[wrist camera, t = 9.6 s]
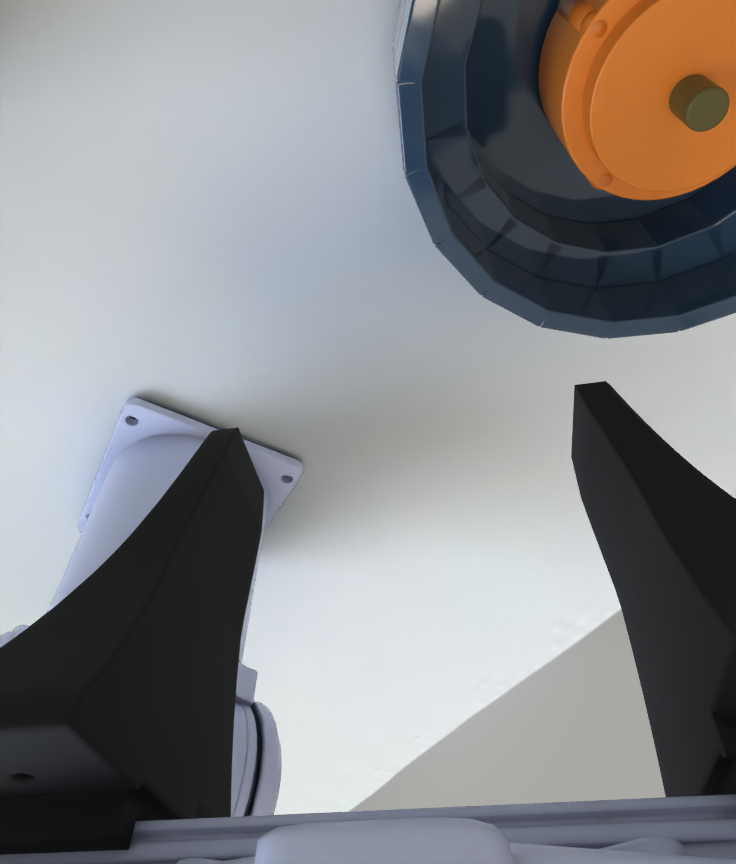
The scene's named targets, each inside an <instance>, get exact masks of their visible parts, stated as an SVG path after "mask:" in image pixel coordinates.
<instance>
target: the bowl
mask: <svg viewBox="0 0 736 864" xmlns="http://www.w3.org/2000/svg"><path fill="white" fill-rule="evenodd" d="M559 2H560V0H401V3H400V9H399V14H398V19H397V24H396V30H395V35H394V40H393V44H394V46H393V53H394V66H395V78H396V90H397V102H398V114H399V125H400V137H401V148H402V160H403V171H404V172H405V178H406V180H407V182H408V185H409V187H410V189H411V192H412V194H413V197H414V199H415V201H416V204H417V206H418V208H419V211H420V213H421V215H422V218H423V220H424V222H425V225H426V227H427V229H428V232H429V234H430V237H431V239H432V241H433V243H434V244H435V246H436V248H437V249H438V250H439V251H440V252H441V253H442V254H443V255H444V256H445V257H446V258H447V260H448V261H449V262H450V263H451V264H452V265H453V266H454V267H455V268H456V269H457V270H458V272H459V273H460V274H461V275H462V276H463V277H464V278H465V279H466V280H467V281H468V282H469V283H470V285H471V286H472V287H473V288H474V289H475V290H476V291H477V292H478V293H479V294H480V295H482V297H484V298H486V299H488V300H490V301H491V302H493V303H495V304H497V305H499V306H501V307H503V308H505V309H507V310H508V311H510V312H512V313H514V314H516V315H518V316H520V317H522V318H524V319H526V320H527V321H529V322H531V323H533V324H535V325H537V326H541V327H543V328H549V329H554V330H560V331H566V332H571V333H577V334H583V335H588V336H594V337H600V338H606V337H607V338H619V337H630V336H641V335H651V334H662V333H672V332H678V331H683V330H686V329H689V328H692V327H695V326H698V325H701V324H704V323H707V322H710V321H713V320H716V319H719V318H721V317H724V316H727V315H730V314H733V313H736V166H734V167H733V168H732V169H730V170H729V171H728V172H726V173H725V174H723V175H722V176H720V177H719V178H717V179H715V180H714V181H712V182H710V183H708V184H706V185H705V186H702V187H700V188H698V189H695V190H693V191H691V192H688V193H685V194H682V195H679V196H675V197H670V198H665V199H657V200H633V199H628V198H623V197H619V196H616V195H613V194H611V193H608V192H606V191H604V190H598V189H595V188H594V187H592V186H591V184H590V183H589V181H588V180H587V178H586V177H585V176H584V175H583V174H582V173H581V171H580V170H579V169H578V167H577V166H576V164H575V163H574V161H573V160H572V158H571V157H570V155H569V154H568V152H567V151H566V149H565V147H564V146H563V144H562V143H561V141H560V140H559V138H558V136H557V135H556V133H555V132H554V130H553V129H552V127H551V125H550V123H549V121H548V119H547V117H546V115H545V112H544V109H543V106H542V103H541V98H540V92H539V63H540V57H541V51H542V46H543V43H544V40H545V37H546V33H547V30H548V28H549V26H550V23H551V21H552V19H553V16H554V14H555V13H556V11H557V9H558V4H559Z"/></svg>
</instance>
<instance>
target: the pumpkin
mask: <svg viewBox="0 0 736 864" xmlns="http://www.w3.org/2000/svg"><path fill="white" fill-rule="evenodd" d="M539 92H540V98H541V103H542V106H543V109H544V112H545V115H546V117H547V119H548V121H549V123H550V125H551V127H552V129H553V130H554V132H555V133H556V135H557V136H558V138H559V140H560V141H561V143H562V144H563V146H564V147H565V149H566V151H567V152H568V154H569V155H570V157H571V158H572V160H573V161H574V163H575V164H576V166H577V167H578V169H579V170H580V171H581V173H582V174H583V175H584V176H585V177H586V178H587V180H588V181H589V183H590V184H591V186H592V187H594V188H595V189H598V190H604V191H606V192H608V193H611V194H613V195H616V196H619V197H623V198H628V199H633V200H657V199H665V198H670V197H675V196H679V195H682V194H685V193H688V192H691V191H693V190H695V189H698V188H700V187H702V186H705V185H706V184H708V183H710V182H712V181H714V180H715V179H717V178H719V177H720V176H722V175H723V174H725V173H726V172H728V171H729V170H730V169H732V168H733V167H734V166H736V0H560V2H559V4H558V9H557V11H556V13H555V14H554V16H553V19H552V21H551V23H550V26H549V28H548V30H547V33H546V37H545V40H544V43H543V46H542V51H541V57H540V63H539Z"/></svg>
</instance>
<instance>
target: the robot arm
mask: <svg viewBox="0 0 736 864" xmlns="http://www.w3.org/2000/svg"><path fill="white" fill-rule="evenodd" d="M129 416H133V417H135V418H137V420H135V419H132V418H130V417H129ZM571 456H572V461H573V465H574V470H575V474H576V478H577V482H578V487H579V491H580V495H581V499H582V501H583V504H584V507H585V510H586V512H587V515H588V518H589V520H590V523H591V526H592V529H593V531H594V534H595V537H596V539H597V542H598V544H599V547H600V550H601V552H602V555H603V558H604V560H605V563H606V566H607V568H608V571H609V574H610V576H611V579H612V582H613V584H614V587H615V590H616V593H617V596H618V599H619V602H620V605H621V608H622V612H623V616H624V620H625V623H626V627H627V631H628V635H629V639H630V643H631V646H632V650H633V654H634V658H635V662H636V667H637V671H638V674H639V679H640V683H641V687H642V691H643V695H644V699H645V704H646V708H647V713H648V717H649V721H650V726H651V730H652V735H653V739H654V743H655V748H656V752H657V757H658V762H659V767H660V771H661V776H662V780H663V785H664V790H665V795H666V797H665V798H644V799H621V800H600V801H599V800H598V801H576V802H554V803H533V804H512V805H511V804H510V805H489V806H488V805H487V806H467V807H466V806H465V807H443V808H421V809H398V810H376V811H355V812H332V813H310V814H287V815H274V811H275V807H276V803H277V798H278V793H279V787H280V779H281V747H280V741H279V738H278V733H277V728H276V723H275V721H274V718H273V715H272V713H271V712H270V710H269V709H268V708H267V707H266V706H265V705H263V704H262V703H260V702H256V701H253V700H254V693H255V686H256V679H257V671H255V670H253V669H251V668H248V667H246V666H245V665H243V664H241V663H242V657H243V651H244V645H245V639H246V633H247V627H248V621H249V616H250V610H251V604H252V598H253V592H254V586H255V580H256V574H257V568H258V562H259V556H260V550H261V544H262V538H263V532H264V529H265V528H266V526H267V525H268V523H269V522H270V521H271V519H272V518H273V516H274V515H275V513H276V512H277V510H278V509H279V508H280V506H281V505H282V503H283V502H284V500H285V499H286V497H287V496H288V495H289V493H290V492H291V490H292V489H293V487H294V486H295V485H296V483H297V482H298V480H299V479H300V477H301V476H302V473H303V465H302V463H301V462H300V461H298V460H296V459H293V458H291V457H288V456H286V455H283V454H280V453H278V452H275V451H273V450H270V449H268V448H265V447H262V446H260V445H257V444H255V443H252V442H249V441H247V440H244V439H243V438H242V436H241V433H240V431H239V429H238V428H230V429H222V430H219V429H216V428H213V427H211V426H208V425H206V424H203V423H201V422H198V421H195V420H193V419H190V418H188V417H185V416H183V415H180V414H177V413H175V412H172V411H170V410H167V409H165V408H162V407H159V406H157V405H154V404H152V403H149V402H147V401H144V400H141V399H138V398H131V399H129V400H127V401H126V403H125V405H124V407H123V410H122V412H121V415H120V417H119V420H118V422H117V425H116V428H115V430H114V433H113V435H112V438H111V440H110V443H109V446H108V448H107V451H106V453H105V456H104V458H103V461H102V464H101V466H100V469H99V471H98V474H97V476H96V479H95V481H94V484H93V487H92V489H91V492H90V494H89V497H88V499H87V502H86V505H85V507H84V510H83V512H82V515H81V517H80V520H79V523H78V525H77V528H78V530H79V531H80V532H81V535H80V538H79V540H78V542H77V545H76V547H75V549H74V552H73V554H72V556H71V558H70V561H69V563H68V565H67V568H66V570H65V572H64V574H63V577H62V579H61V581H60V584H59V586H58V588H57V590H56V593H55V595H54V597H53V600H52V602H51V604H50V607H49V609H48V611H47V613H46V614H45V615H44V616H42V617H41V618H40V619H38V620H37V621H36V622H35V623H33V624H32V625H31V626H27V625H19V626H17V627H15V628H14V629H13V631H12V632H11V631H9V632H7V633H4V634H2V635H0V864H736V499H735V498H734V497H732V496H731V495H729V494H728V493H727V492H725V491H724V490H723V489H721V488H720V487H719V486H717V485H716V484H715V483H713V482H712V481H711V480H710V479H708V478H707V477H706V476H705V475H703V474H702V473H701V472H700V471H699V470H697V469H696V468H695V467H694V466H692V465H691V464H690V463H689V462H688V461H687V460H685V459H684V458H683V457H682V456H681V455H680V454H679V453H677V452H676V451H675V450H674V449H673V448H672V447H671V446H670V445H669V444H668V443H667V442H666V441H664V440H663V439H662V438H661V437H660V436H659V435H658V434H657V433H656V432H655V431H654V430H653V429H652V428H651V427H650V426H649V425H648V424H647V423H646V422H645V421H644V420H643V419H642V418H641V417H640V416H639V415H638V414H637V413H636V412H635V411H634V410H633V409H632V408H631V407H630V406H629V405H628V404H627V403H626V402H625V401H624V400H623V398H622V397H621V396H620V395H619V394H618V393H617V392H616V391H615V390H614V389H613V387H612V386H611V385H610V384H608V383H607V382H606V381H604V382H596V383H588V384H580V385H575V389H574V411H573V433H572V455H571ZM284 475H289V476H291V477H285V476H284Z"/></svg>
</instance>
